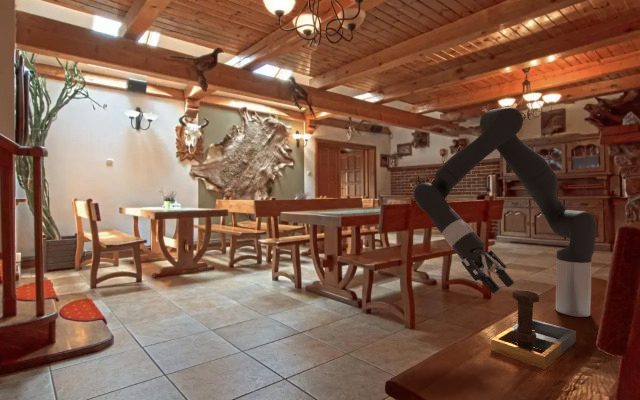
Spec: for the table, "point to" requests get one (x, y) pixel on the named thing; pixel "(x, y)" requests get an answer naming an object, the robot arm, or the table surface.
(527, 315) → the bolt
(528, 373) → the table surface
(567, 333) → the tray
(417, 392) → the table surface
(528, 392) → the table surface
